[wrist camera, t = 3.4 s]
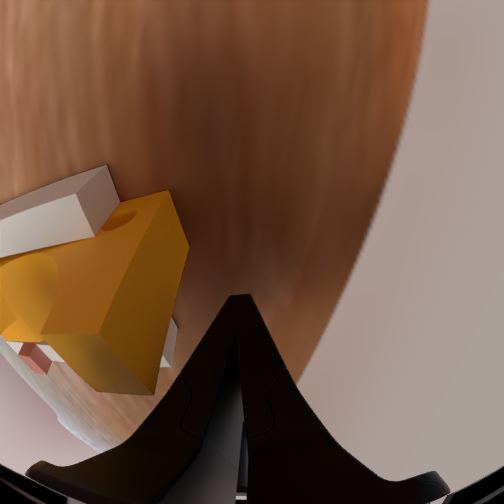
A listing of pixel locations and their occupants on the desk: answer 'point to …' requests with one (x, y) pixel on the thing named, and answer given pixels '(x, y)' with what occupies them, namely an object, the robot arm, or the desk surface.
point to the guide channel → (61, 237)
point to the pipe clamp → (102, 295)
